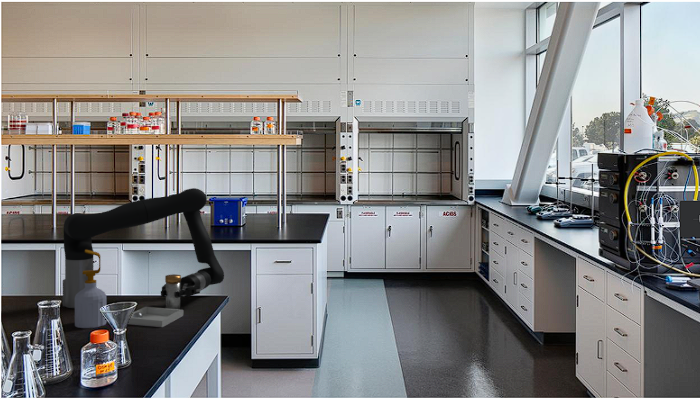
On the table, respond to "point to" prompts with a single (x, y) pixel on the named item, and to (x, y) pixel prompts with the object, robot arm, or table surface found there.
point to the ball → (138, 315)
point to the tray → (156, 316)
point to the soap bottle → (90, 301)
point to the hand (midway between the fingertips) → (169, 294)
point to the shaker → (172, 291)
